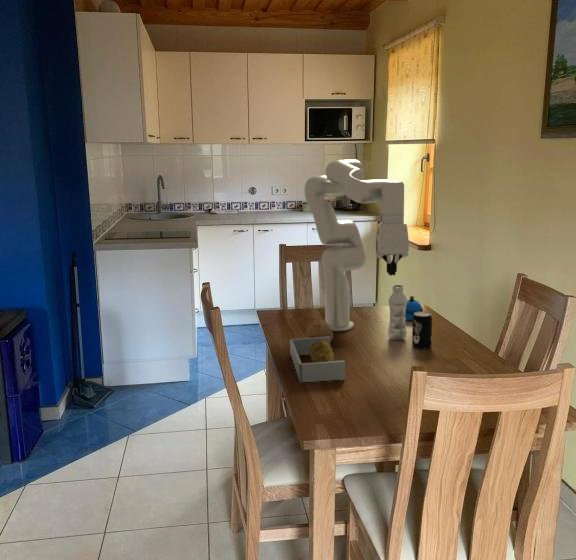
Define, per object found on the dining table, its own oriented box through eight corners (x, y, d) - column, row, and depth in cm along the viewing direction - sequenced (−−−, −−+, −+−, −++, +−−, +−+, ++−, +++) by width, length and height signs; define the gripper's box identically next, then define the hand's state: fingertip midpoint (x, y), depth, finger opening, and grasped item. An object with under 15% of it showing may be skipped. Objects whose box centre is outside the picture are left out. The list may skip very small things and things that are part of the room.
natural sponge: (302, 343, 202) (302, 317, 200) (325, 340, 205) (325, 314, 203) (312, 351, 194) (311, 324, 192) (335, 348, 197) (335, 320, 195)
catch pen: (290, 355, 191) (289, 339, 189) (330, 353, 192) (329, 336, 191) (299, 383, 167) (299, 364, 166) (345, 380, 169) (345, 361, 168)
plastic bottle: (384, 338, 205) (384, 285, 201) (399, 335, 208) (400, 283, 204) (394, 343, 200) (394, 289, 195) (410, 340, 202) (411, 286, 198)
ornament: (410, 324, 221) (411, 300, 219) (396, 319, 228) (396, 295, 226) (427, 320, 225) (427, 296, 223) (412, 316, 232) (413, 292, 230)
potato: (307, 374, 174) (306, 350, 172) (311, 360, 186) (311, 337, 185) (333, 375, 173) (333, 351, 171) (336, 360, 185) (336, 337, 183)
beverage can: (431, 350, 192) (432, 316, 189) (412, 349, 193) (412, 316, 191) (431, 343, 198) (431, 311, 196) (412, 343, 200) (412, 310, 197)
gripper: (372, 221, 177) (372, 278, 181) (418, 219, 179) (417, 275, 183) (366, 219, 184) (366, 273, 188) (410, 217, 186) (409, 271, 190)
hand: (391, 274), depth 186 cm, fingers closed
